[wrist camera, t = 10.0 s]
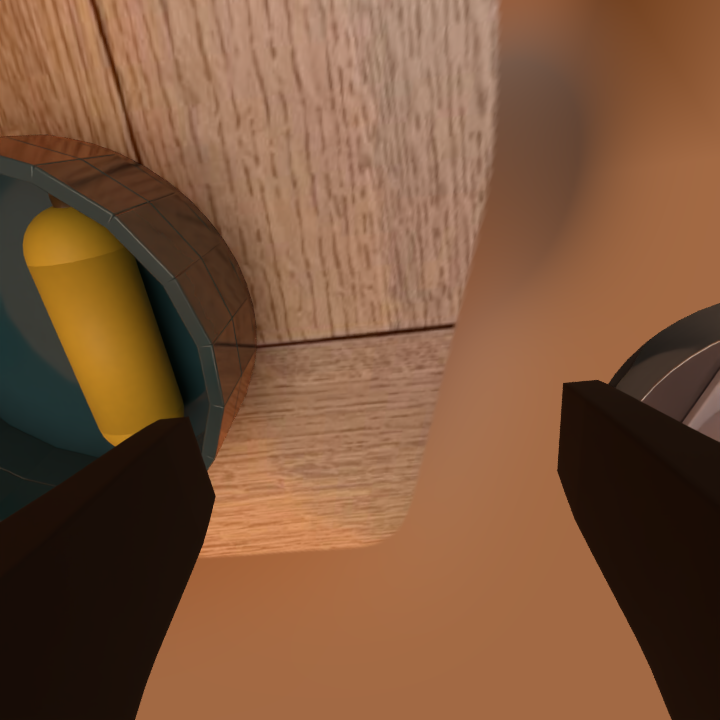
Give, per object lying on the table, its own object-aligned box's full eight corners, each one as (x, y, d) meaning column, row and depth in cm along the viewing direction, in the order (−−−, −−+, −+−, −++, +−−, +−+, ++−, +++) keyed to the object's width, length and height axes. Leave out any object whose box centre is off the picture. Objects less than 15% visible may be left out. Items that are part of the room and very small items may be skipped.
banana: (144, 421, 22) (207, 423, 21) (95, 467, 19) (165, 471, 18) (51, 179, 17) (127, 170, 16) (-32, 194, 14) (53, 183, 14)
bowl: (288, 201, 18) (256, 229, 13) (229, 487, 24) (194, 572, 19) (-118, 81, 16) (-306, 67, 12) (-68, 416, 22) (-180, 490, 18)
